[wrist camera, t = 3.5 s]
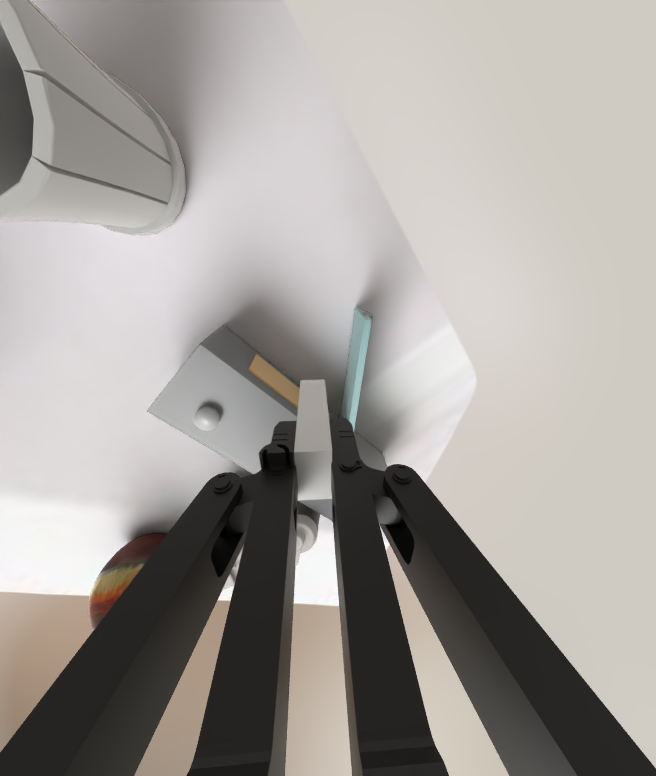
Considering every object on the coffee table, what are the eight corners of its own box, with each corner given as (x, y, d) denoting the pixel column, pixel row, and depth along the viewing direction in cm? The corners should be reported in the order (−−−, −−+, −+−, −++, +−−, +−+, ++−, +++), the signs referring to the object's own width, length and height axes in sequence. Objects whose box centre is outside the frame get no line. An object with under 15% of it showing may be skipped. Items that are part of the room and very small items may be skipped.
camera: (329, 511, 36) (322, 568, 26) (228, 550, 38) (184, 619, 27) (301, 451, 36) (283, 485, 26) (201, 493, 37) (146, 541, 27)
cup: (123, 272, 22) (-46, 290, 12) (10, 156, 18) (-397, 24, 8) (214, 188, 20) (106, 116, 9) (106, 37, 16) (-280, -374, 6)
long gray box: (178, 379, 27) (140, 416, 21) (224, 323, 25) (197, 345, 19) (345, 492, 36) (353, 539, 30) (391, 458, 34) (408, 502, 28)
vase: (155, 515, 36) (61, 675, 22) (215, 551, 41) (167, 702, 27) (105, 546, 38) (-8, 709, 25) (166, 577, 43) (100, 728, 29)
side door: (352, 307, 24) (361, 319, 20) (364, 308, 25) (376, 320, 20) (338, 420, 30) (343, 447, 26) (348, 420, 30) (355, 447, 26)
